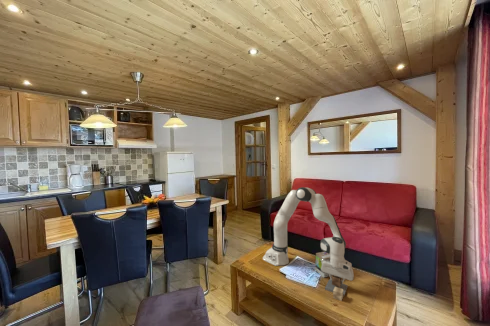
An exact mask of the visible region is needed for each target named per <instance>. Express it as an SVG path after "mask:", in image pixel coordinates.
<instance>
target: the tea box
mask: <svg viewBox="0 0 490 326" xmlns="http://www.w3.org/2000/svg"><path fill="white" fill-rule="evenodd" d="M324 258H325V259H328V260H330V254H329V253H326V252H324V251H321V252H316V253H315V266H314V271H315V270H316V271H317V272H318V273H320V274H321V275H320V274H319V275H320V276H321V277H322V278H327V277H329V274H328V273H325V272H322V270H321V267H322V263H321V260H322V259H324ZM316 271H315V272H316ZM317 272H316V273H317ZM318 273H317V274H318Z"/></svg>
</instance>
